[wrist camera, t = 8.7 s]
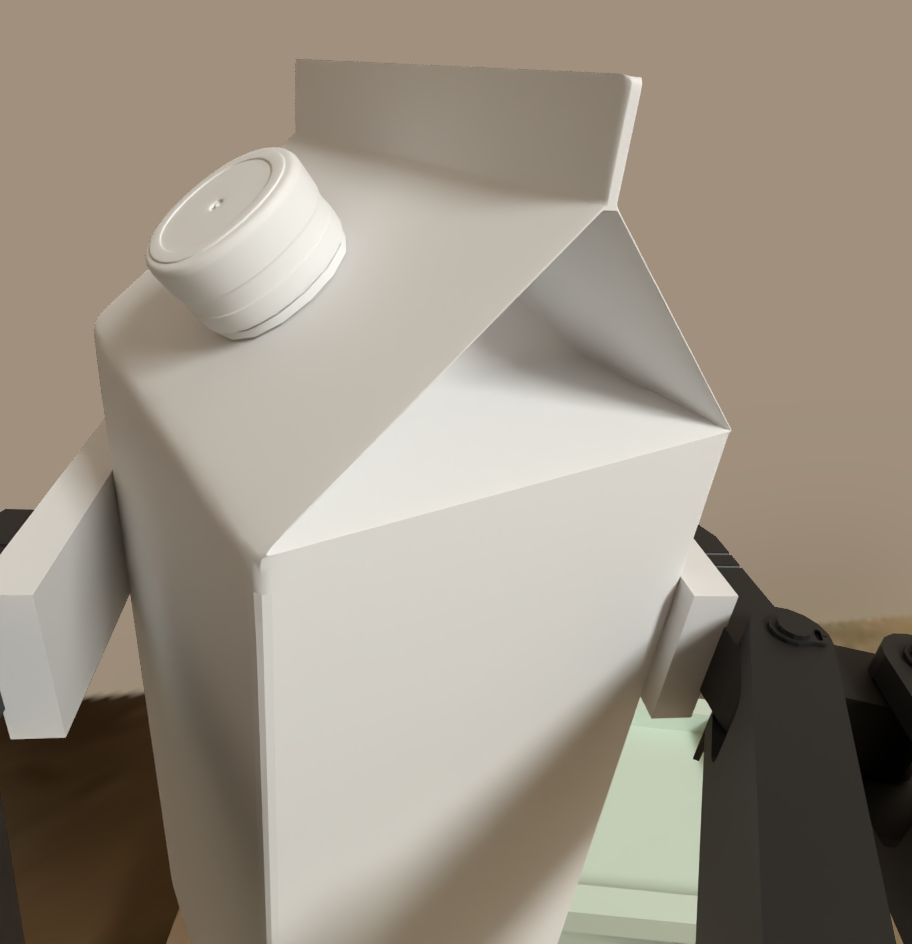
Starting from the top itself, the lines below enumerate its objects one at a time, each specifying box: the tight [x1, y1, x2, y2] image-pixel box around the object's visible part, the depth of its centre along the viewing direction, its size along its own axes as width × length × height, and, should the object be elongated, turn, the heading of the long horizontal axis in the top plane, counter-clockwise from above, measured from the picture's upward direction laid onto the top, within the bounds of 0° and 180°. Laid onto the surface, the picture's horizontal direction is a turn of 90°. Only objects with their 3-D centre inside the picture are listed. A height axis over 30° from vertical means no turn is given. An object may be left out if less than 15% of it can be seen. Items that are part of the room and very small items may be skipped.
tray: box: [558, 697, 712, 944], centre depth 35 cm, size 13×13×2 cm
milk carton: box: [94, 59, 731, 944], centre depth 13 cm, size 7×7×19 cm
